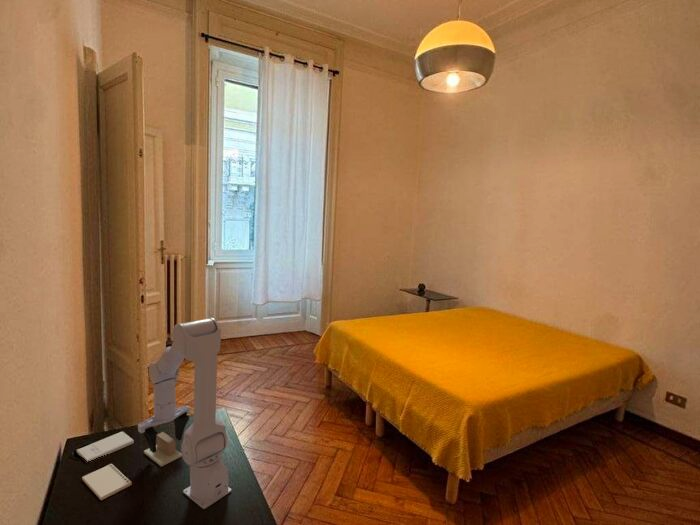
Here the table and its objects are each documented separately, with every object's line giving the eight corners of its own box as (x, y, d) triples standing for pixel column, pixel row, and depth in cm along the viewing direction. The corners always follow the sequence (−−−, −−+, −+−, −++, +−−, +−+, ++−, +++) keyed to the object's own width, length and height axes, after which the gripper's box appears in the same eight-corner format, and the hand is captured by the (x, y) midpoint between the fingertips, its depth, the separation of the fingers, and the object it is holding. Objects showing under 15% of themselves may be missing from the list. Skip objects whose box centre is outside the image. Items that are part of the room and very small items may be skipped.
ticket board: (131, 484, 97) (131, 481, 97) (101, 500, 91) (100, 497, 91) (111, 466, 104) (111, 463, 104) (82, 479, 98) (82, 476, 98)
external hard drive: (134, 444, 115) (87, 465, 105) (122, 435, 120) (76, 454, 110) (133, 439, 115) (87, 459, 105) (121, 430, 120) (76, 448, 110)
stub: (181, 456, 109) (181, 440, 109) (161, 466, 104) (160, 450, 104) (164, 443, 115) (163, 428, 114) (144, 453, 110) (143, 437, 110)
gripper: (181, 388, 117) (182, 429, 118) (132, 406, 105) (133, 451, 107) (193, 395, 113) (194, 437, 114) (144, 414, 101) (145, 461, 103)
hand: (166, 445), depth 110 cm, fingers open, 7 cm apart
